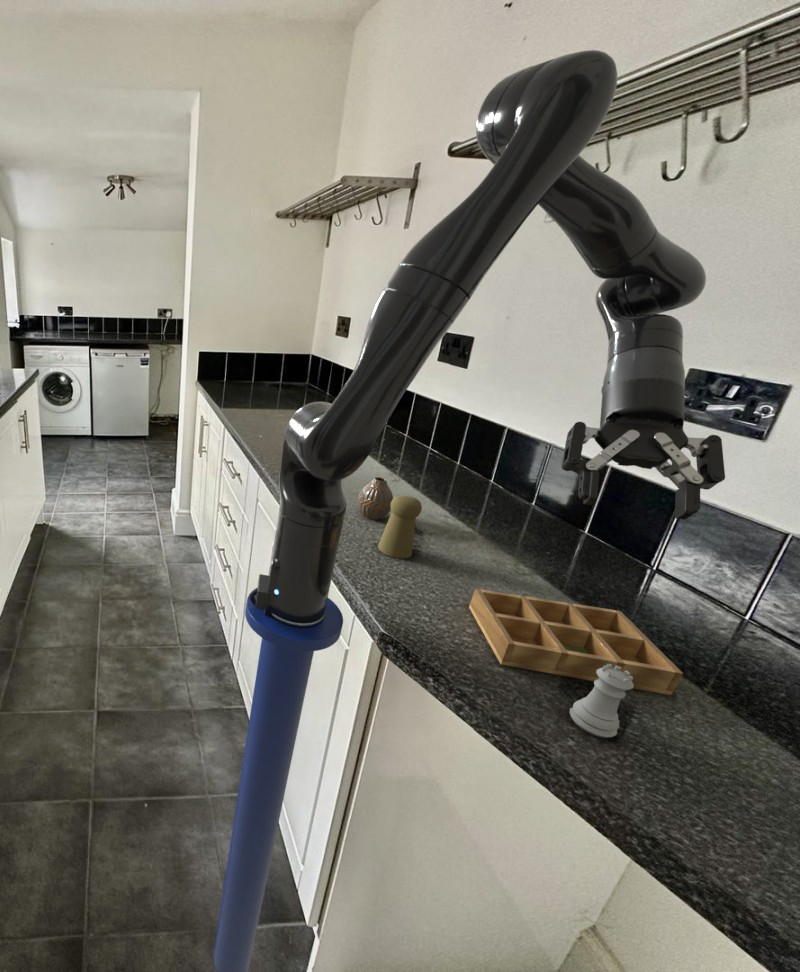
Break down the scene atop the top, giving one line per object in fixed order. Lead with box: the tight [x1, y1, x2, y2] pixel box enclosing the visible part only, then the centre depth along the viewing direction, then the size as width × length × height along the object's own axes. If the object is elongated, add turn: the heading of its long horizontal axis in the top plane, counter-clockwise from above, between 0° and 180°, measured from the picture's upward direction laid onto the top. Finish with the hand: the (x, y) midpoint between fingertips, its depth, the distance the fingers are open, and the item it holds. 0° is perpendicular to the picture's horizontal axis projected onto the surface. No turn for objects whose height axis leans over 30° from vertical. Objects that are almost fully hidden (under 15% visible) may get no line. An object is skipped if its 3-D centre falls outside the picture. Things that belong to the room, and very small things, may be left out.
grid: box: [468, 588, 684, 696], centre depth 72 cm, size 20×13×4 cm
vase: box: [357, 476, 394, 521], centre depth 109 cm, size 7×7×9 cm
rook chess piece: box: [569, 664, 634, 738], centre depth 58 cm, size 4×4×8 cm
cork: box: [377, 494, 423, 559], centre depth 95 cm, size 6×6×11 cm
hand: (635, 509), depth 59 cm, fingers open, 8 cm apart
